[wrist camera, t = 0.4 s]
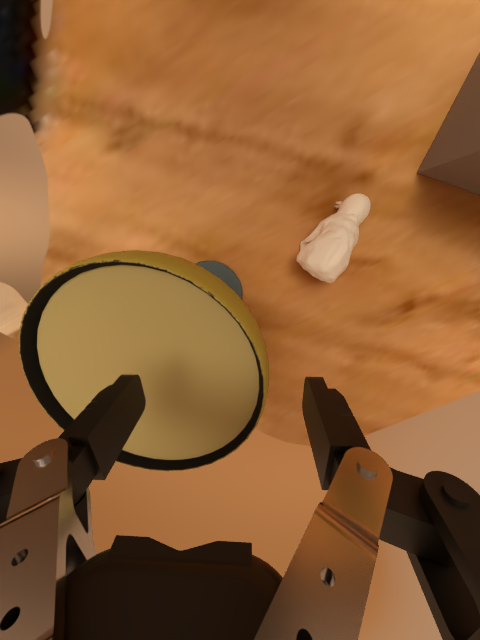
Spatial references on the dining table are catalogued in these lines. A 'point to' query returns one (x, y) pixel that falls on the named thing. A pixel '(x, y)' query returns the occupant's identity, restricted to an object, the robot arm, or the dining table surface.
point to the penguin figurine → (334, 239)
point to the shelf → (458, 140)
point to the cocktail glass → (150, 352)
